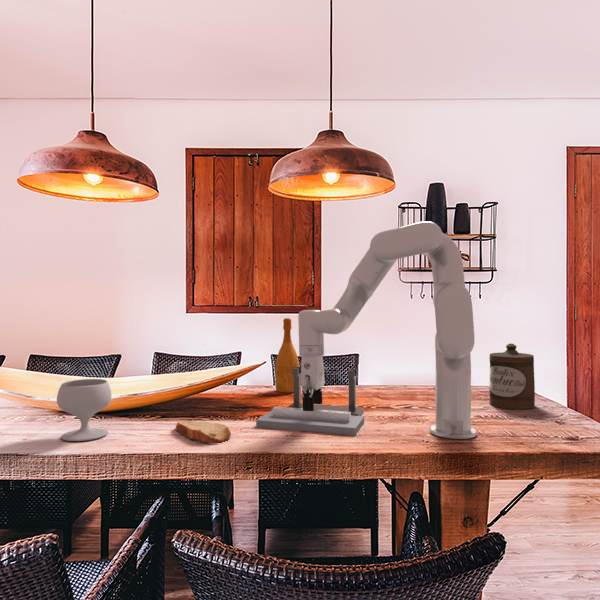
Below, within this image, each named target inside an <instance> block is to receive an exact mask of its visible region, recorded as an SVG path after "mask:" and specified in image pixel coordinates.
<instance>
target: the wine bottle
mask: <svg viewBox="0 0 600 600" xmlns="http://www.w3.org/2000/svg"><path fill="white" fill-rule="evenodd" d="M282 329H283V338H282V339H283V340H282V343H281V346H280V348H279V350H278V354H277V356H276V360H275V370H274V372H275V374H274V375H275V390H276V391H277V392H279V393H281V394H282V393H286V394H289V393H290V394H291V393H292V392H293V393H294V377H293V376H292V368H296V367H300V362H299V357H298V356H299V355H298V354H297V351H296V349H295V347H294V343H293V341H292V334H291V330H292V329H293V327H292V319H291V318H288V317H287V318H286V317H285V318H284V319H283V326H282ZM293 393H292V394H293Z"/></svg>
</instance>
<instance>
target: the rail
mask: <svg viewBox="0 0 600 600" xmlns="http://www.w3.org/2000/svg"><path fill="white" fill-rule="evenodd" d="M272 410H273V416H275V417H287V418H300V419H313V420H326V421H339V422H350V421H351V412H346V411H332V410H318V409H314V410H313V411H303V408H290V407H288V406H274V407H272Z"/></svg>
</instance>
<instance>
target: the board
mask: <svg viewBox="0 0 600 600" xmlns="http://www.w3.org/2000/svg"><path fill="white" fill-rule="evenodd" d="M364 424H365V416H363V415H362V416H352V415H351V421H350V422H339V421H326V420H313V419H300V418H287V417H275V416H273V409H272V410H270V411H268V412H267V413H265V414H264V415H262V416H260V417H259V418H257V419H256V420H255V425H256V428H266V429H276V430H277V429H278V430H287V429H289V431H302V432H312V433H323V434H324V433H325V434H334V435H335V434H336V435H337V434H338V435H346V434H348V436H356V435H357V434H358V433H359V432H360V430H361V429H362V427H363V425H364ZM359 429H360V430H359ZM357 432H358V433H357Z"/></svg>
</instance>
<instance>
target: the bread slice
mask: <svg viewBox="0 0 600 600" xmlns="http://www.w3.org/2000/svg"><path fill="white" fill-rule="evenodd" d="M174 430H175V431H176V432H177V433H178V434H179V433H180V435H181V436H183V437H185V438H187V439H190V440H192V441H195V440H196V442H197V441H200V443H202V442H203V444H206V443H222V442H225V441H227V442H229V441H230V438H231V436H232V433H231V430H230V429H229V427H228V426H227V425H225V424H221V423H219V422H218V423H217V422H209V421H208V422H206V421H195V420H194V421H189V420H188V421H177V423H176V426H175V428H174ZM228 440H229V441H228ZM225 443H226V442H225ZM222 444H223V443H222Z"/></svg>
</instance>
